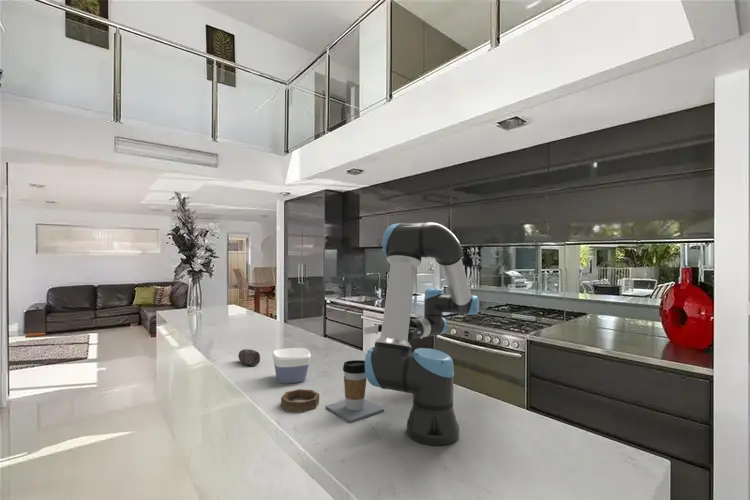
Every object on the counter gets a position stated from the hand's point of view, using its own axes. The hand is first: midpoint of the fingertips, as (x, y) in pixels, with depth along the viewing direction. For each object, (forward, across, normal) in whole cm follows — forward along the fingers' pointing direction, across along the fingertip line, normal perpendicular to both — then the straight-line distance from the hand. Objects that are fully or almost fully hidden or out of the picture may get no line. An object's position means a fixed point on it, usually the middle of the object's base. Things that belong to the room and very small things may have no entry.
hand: (376, 333), depth 131 cm
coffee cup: (+10, -2, -24) cm, 26 cm away
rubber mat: (+10, -2, -24) cm, 26 cm away
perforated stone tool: (+19, +71, -24) cm, 77 cm away
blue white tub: (+12, +39, -24) cm, 47 cm away
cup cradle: (+22, +13, -24) cm, 35 cm away
